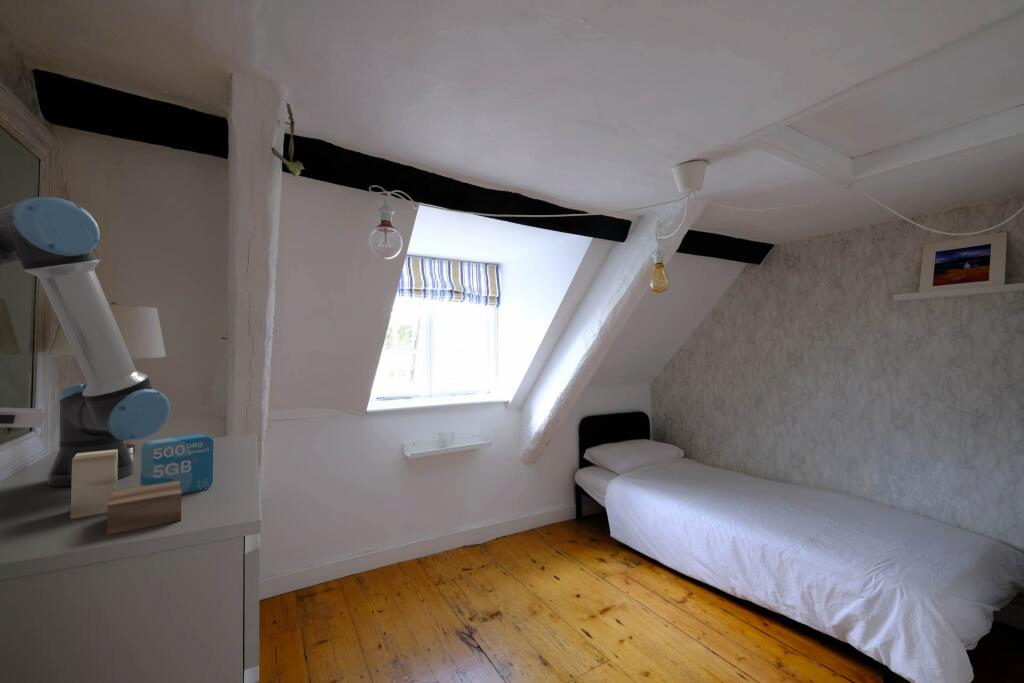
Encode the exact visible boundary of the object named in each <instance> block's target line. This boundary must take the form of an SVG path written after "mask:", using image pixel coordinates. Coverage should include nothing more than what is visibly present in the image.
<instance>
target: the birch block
mask: <svg viewBox="0 0 1024 683" xmlns="http://www.w3.org/2000/svg"><path fill="white" fill-rule="evenodd" d="M117 466H118V449H115V450H105V451H95V452H86V453H77V454H76V455H75V456H74V458H73V459H72V483H71V486H70V487H71V488H70V489H71V493H70V519H71V520H72V519H77V518H82V517H83V518H84V517H89V516H95V515H100V514H108V503H109V500H110V497H111V494H112V492H113V490H118V479H117Z"/></svg>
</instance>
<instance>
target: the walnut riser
mask: <svg viewBox="0 0 1024 683" xmlns="http://www.w3.org/2000/svg"><path fill="white" fill-rule="evenodd" d="M179 520H181V521H182V493H181V486H180V481H173V482H167V483H160V484H153V485H146V486H141V485H140V486H134V487H128V488H120V489H117V490H113V492H112V494H111V497H110V500H109V503H108V512H107V520H106V521H107V524H106V525H107V527H106V530H107V531H106V535H107V536H108V535H113V534H120V533H123V532H129V531H134V530H139V529H145V528H150V526H151V527H155V526H160V525H159V524H161V525H165V524H164V523H166V524H169V523H168V522H171V523H174V522H173V521H176V522H180V521H179Z"/></svg>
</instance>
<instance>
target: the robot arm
mask: <svg viewBox="0 0 1024 683" xmlns="http://www.w3.org/2000/svg"><path fill="white" fill-rule="evenodd" d="M100 232H101V231H100V227H99V225H98V223H97V222H96V220H95V218H94V217H93V216H92V215H91V214H90V212H88V211H87V210H86V209H84V208H83V207H81V206H79V205H77V204H76V203H74V202H73V201H70V200H67V199H64V198H59V197H53V196H51V197H50V196H47V197H46V196H45V197H44V196H43V197H40V196H39V197H32V198H30V197H29V198H26V199H23V200H21V201H17V202H13V203H7V204H4V205H3V204H2V205H0V268H1V267H5V266H8V265H12V264H19V263H20V264H21V266H22V268H23V269H22V270H24V272H26V273H28V274H31V275H32V276H34V277H37V278H38V279H39V281H40V284H41V285H42V288H43V290H44V292H45V294H46V296H47V298H48V300H49V303H50V304H51V306H52V309H53V311H54V313H55V316H56V318H57V319H58V322H59V324H60V327H61V328H62V331H63V333H64V335H65V337H66V339H67V342H68V343H69V347H71V350H72V352H73V355H74V357H75V360H76V361H77V364H78V365H79V368H80V370H81V371H82V374H83V376H84V378H85V380H86V383H80V384H79V383H78V384H72V385H67V386H65V387H64V388H63V389H62V390H61V392H60V398H59V400H58V403H59V446H58V448H59V449H58V451H57V454H56V456H55V458H54V461H53V463H52V465H51V467H50V469H49V472H48V474H47V486H50V487H61V488H64V487H71V483H72V459H73V458H74V456H75V455H76V454H77V453H86V452H95V451H105V450H115V449H118V466H117V480H118V479H121V478H125V477H127V476H130V475H132V474H134V467H135V466H134V465H135V464H134V461H133V459H132V457H131V454H130V451H129V449H128V447H127V444H126V441H135V440H137V441H138V440H139V441H140V440H144V439H147V438H149V437H151V436H153V435H154V434H156V433H158V432H159V431H160V430H161V429H162V428H163V427H164V426H165V425H166V424H165V423H166V422H167V420H168V419H169V417H170V412H171V404H170V400H168V398H167V396H166V395H165V394H163V393H161V391H159V390H156V389H154V388H153V386H152V383H151V381H150V379H149V377H148V374H145V373H144V372H140V371H138V370H137V369H136V367H135V365H134V362H133V360H132V357H131V355H130V353H129V350H128V348H127V345H126V342H125V340H124V338H123V336H122V334H121V331H120V329H119V326H118V323H117V321H116V319H115V316H114V314H113V311H112V309H111V307H110V304H109V302H108V300H107V297H106V295H105V292H104V291H103V288H102V285H101V282H100V281H99V278H98V276H97V273H96V271H95V268H97V266H98V265H99V263H100V262H101V260H100V258H99V255H98V252H97V249H96V247H97V245H98V243H99V242H100V239H101V233H100ZM45 415H46V411H43V408H33V407H32V408H31V407H30V408H29V407H26V408H25V407H0V428H41V429H42V427H43V424H44V419H45Z"/></svg>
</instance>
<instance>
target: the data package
mask: <svg viewBox="0 0 1024 683" xmlns="http://www.w3.org/2000/svg"><path fill="white" fill-rule="evenodd" d="M173 481H180V486H181V493H182V494H183V493H187V494H189V493H188V492H192V493H194V492H193V491H196V492H198V491H197V490H200V489H205V488H207V489H209V488H210V487H212V485H213V482H214V439H213V438H212V437H211V436H208V435H205V434H201V433H198V434H189V435H183V436H174V437H168V438H167V437H166V438H159V439H153V440H148V441H146V442H144V443H143V444H142V446H141V449H140V486H146V485H153V484H160V483H167V482H173ZM205 490H206V489H205ZM183 495H184V494H183Z"/></svg>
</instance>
